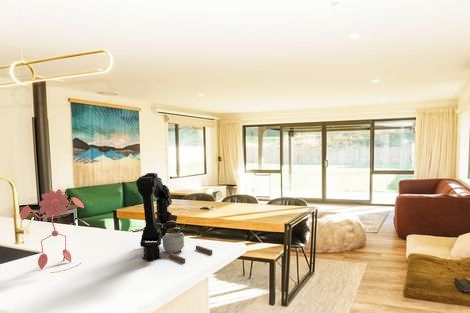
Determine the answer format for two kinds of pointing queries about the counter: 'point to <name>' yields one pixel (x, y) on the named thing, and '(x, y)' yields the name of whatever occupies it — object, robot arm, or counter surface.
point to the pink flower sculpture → (52, 206)
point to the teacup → (173, 242)
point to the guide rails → (184, 258)
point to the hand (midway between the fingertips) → (163, 239)
